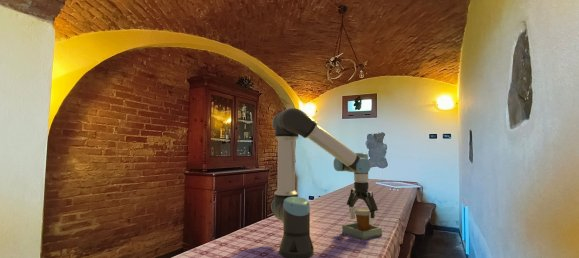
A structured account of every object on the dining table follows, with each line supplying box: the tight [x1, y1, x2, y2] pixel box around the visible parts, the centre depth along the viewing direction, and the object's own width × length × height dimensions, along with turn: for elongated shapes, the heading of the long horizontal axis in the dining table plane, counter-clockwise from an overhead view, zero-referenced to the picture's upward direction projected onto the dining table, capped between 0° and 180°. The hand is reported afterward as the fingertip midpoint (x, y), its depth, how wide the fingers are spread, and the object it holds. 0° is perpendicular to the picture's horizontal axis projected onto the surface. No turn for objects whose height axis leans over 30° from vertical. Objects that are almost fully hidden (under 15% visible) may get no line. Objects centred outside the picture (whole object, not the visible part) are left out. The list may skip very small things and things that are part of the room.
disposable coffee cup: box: [355, 208, 373, 231], centre depth 156 cm, size 10×10×12 cm
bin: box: [341, 222, 383, 241], centre depth 157 cm, size 14×15×4 cm
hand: (361, 221), depth 157 cm, fingers open, 13 cm apart
